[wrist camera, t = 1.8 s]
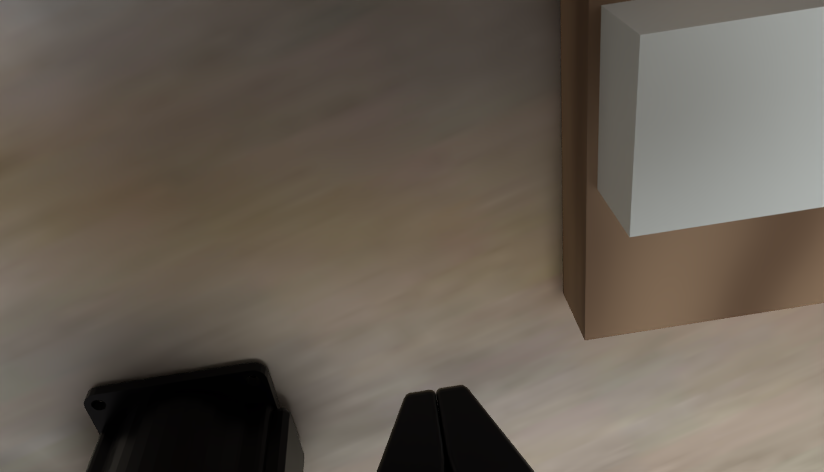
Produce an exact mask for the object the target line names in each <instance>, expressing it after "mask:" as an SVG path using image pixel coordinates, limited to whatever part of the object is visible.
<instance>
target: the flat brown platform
mask: <svg viewBox="0 0 824 472" xmlns="http://www.w3.org/2000/svg"><path fill="white" fill-rule="evenodd" d="M626 1H632V0H560V11H561V108H562V205H563V293H564V296H565V298H566V300H567V302H568V304H569V307H570V309H571V311H572V313H573V315H574V318H575V320H576V322H577V324H578V326H579V329H580V331H581V333H582V335H583V337H584V340H590V339H596V338H603V337H609V336H615V335H622V334H628V333H635V332H641V331H647V330H654V329H660V328H666V327H673V326H679V325H686V324H692V323H698V322H705V321H711V320H717V319H724V318H730V317H736V316H743V315H749V314H756V313H762V312H768V311H775V310H781V309H787V308H794V307H800V306H806V305H813V304H819V303H824V207H820V208H814V209H807V210H801V211H795V212H788V213H782V214H775V215H769V216H763V217H756V218H750V219H744V220H737V221H731V222H724V223H718V224H712V225H705V226H699V227H692V228H686V229H680V230H673V231H667V232H660V233H654V234H648V235H641V236H635V237H629V236H628V234H627V233H626V231H625V230H624V228H623V227H622V225H621V224H620V222H619V221H618V219H617V218H616V216H615V215H614V213H613V212H612V210H611V209H610V207H609V206H608V204H607V203H606V201H605V200H604V198H603V197H602V195H601V194H600V192H599V191H598V189H597V181H598V135H599V88H600V42H601V5H606V4H613V3H619V2H626Z"/></svg>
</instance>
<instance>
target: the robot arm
mask: <svg viewBox="0 0 824 472" xmlns="http://www.w3.org/2000/svg"><path fill="white" fill-rule="evenodd" d="M251 375H252V376H257V377H258V378H251V377H249V376H251ZM436 396H437V398H436ZM98 400H101V401H104V402H100V401H98ZM437 403H438V404H437ZM84 406H85V409H86V410H87V412H88V414H89V416H90V418H91V419H92V421H93V423H94V425H95V427H96V429H97V430H98V432H99V434H100V437H99V439H98V442H97V444H96V447H95V450H94V452H93V455H92V457H91V460H90V463H89V465H88V468H87V470H86V472H303V467H304V453H303V450H302V447H301V444H300V441H299V437H298V434H297V431H296V428H295V425H294V422H293V419H292V416H291V413H290V412H289V411H288V410H287V409H285V408H281V407H280V404H279V401H278V398H277V395H276V392H275V389H274V386H273V383H272V380H271V377H270V374H269V371H268V369H267V368H266V367H265V366H264V365H262V364H260V363H245V364H239V365H233V366H226V367H220V368H213V369H207V370H201V371H194V372H188V373H182V374H175V375H169V376H162V377H156V378H150V379H143V380H137V381H131V382H124V383H118V384H111V385H105V386H99V387H95V388H92V389H91V390H89V391H88V394H87V396H86V398H85V401H84ZM438 410H439V411H438ZM439 416H440V417H439ZM377 472H534V470H533V469H532V468H531V467H530V465H529V464H528V463H527V462H526V460H525V459H524V458H523V457H522V455H521V454H520V453H519V452H518V450H517V449H516V448H515V447H514V445H513V444H512V443H511V442H510V440H509V439H508V438H507V437H506V435H505V434H504V433H503V432H502V430H501V429H500V428H499V427H498V425H497V424H496V423H495V422H494V420H493V419H492V418H491V417H490V415H489V414H488V413H487V412H486V410H485V409H484V408H483V407H482V405H481V404H480V403H479V402H478V400H477V399H476V398H475V397H474V395H473V394H472V393H471V392H470V390H469V389H468V388H467V387H465V386H463V385H457V386H451V387H445V388H440V389H438V390H437V392H436V393H435V392H434V391H433V390H425V391H419V392H413V393H408V394H407V395H406V396H405V398H404V400H403V402H402V405H401V408H400V410H399V413H398V416H397V419H396V421H395V424H394V427H393V429H392V432H391V435H390V437H389V440H388V443H387V445H386V448H385V451H384V454H383V456H382V459H381V462H380V464H379V467H378V470H377Z"/></svg>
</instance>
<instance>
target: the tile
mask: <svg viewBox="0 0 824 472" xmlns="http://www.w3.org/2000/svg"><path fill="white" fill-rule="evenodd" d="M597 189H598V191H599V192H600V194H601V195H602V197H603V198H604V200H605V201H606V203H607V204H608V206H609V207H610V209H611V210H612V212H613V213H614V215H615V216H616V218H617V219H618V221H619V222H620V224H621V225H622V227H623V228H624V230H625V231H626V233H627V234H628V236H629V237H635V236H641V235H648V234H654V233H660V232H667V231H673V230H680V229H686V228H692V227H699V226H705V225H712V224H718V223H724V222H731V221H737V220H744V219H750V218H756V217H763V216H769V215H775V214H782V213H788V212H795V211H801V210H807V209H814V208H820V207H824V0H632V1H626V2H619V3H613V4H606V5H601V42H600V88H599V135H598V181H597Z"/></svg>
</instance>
